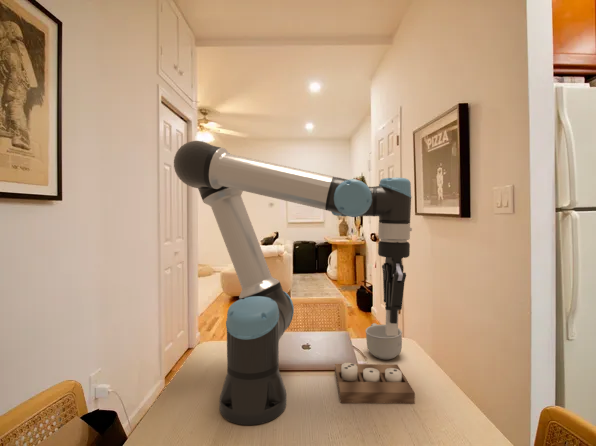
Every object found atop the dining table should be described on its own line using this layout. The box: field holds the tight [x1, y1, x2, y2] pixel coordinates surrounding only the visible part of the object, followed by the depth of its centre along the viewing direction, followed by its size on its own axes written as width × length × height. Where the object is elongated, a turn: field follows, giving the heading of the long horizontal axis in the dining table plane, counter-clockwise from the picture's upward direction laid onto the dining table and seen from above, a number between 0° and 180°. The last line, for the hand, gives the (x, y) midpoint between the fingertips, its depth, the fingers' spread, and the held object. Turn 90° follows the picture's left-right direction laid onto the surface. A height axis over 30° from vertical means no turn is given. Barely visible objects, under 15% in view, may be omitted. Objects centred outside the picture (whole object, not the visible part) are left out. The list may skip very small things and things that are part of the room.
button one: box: [363, 368, 379, 382], centre depth 81 cm, size 4×4×3 cm
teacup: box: [365, 322, 403, 360], centre depth 101 cm, size 14×11×8 cm
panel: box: [334, 363, 416, 405], centre depth 81 cm, size 17×14×2 cm
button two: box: [385, 368, 403, 382], centre depth 81 cm, size 4×4×3 cm
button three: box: [341, 362, 357, 381], centre depth 81 cm, size 4×4×3 cm
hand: (391, 334), depth 81 cm, fingers closed
